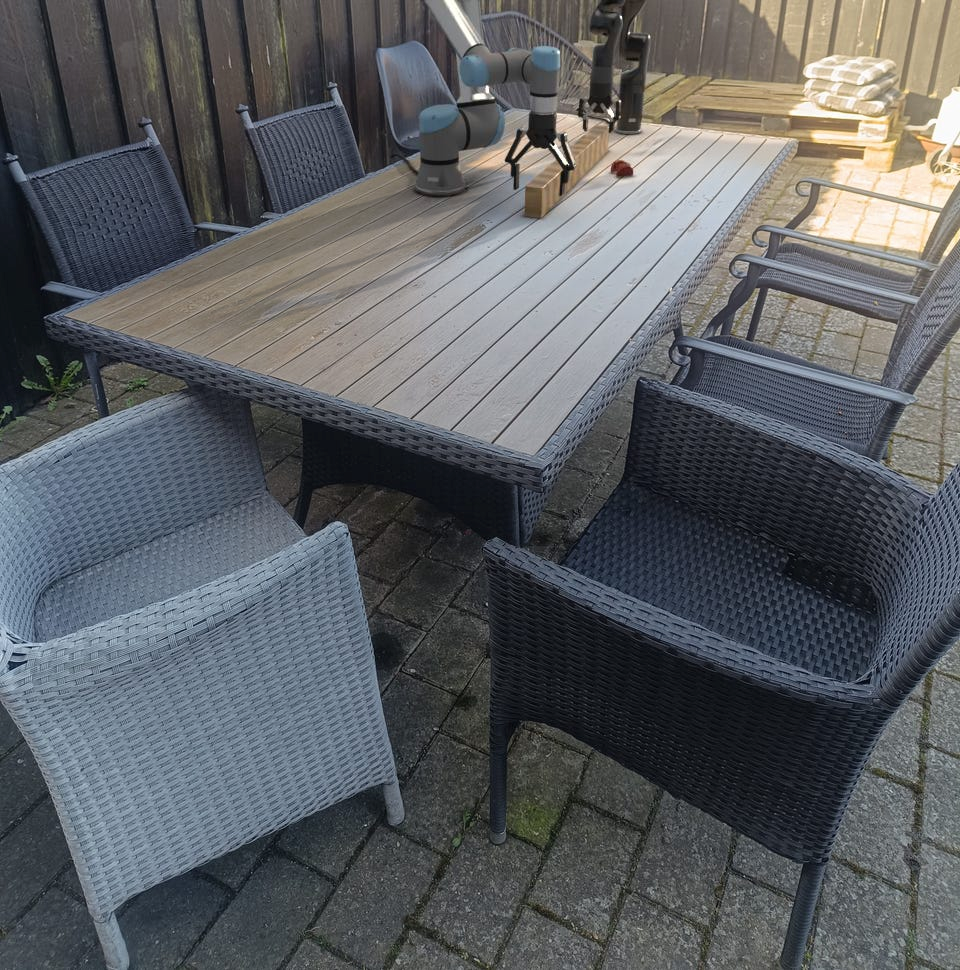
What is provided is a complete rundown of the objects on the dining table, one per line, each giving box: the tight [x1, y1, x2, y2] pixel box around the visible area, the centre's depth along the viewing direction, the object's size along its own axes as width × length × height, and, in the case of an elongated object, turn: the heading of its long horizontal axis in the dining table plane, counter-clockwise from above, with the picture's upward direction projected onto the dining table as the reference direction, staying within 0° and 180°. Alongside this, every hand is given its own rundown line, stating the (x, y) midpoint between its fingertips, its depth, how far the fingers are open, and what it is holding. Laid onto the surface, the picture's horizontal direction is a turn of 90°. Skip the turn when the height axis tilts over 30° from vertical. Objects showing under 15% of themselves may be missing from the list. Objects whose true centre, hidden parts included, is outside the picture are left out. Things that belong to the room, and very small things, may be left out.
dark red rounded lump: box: [610, 159, 634, 178], centre depth 271 cm, size 6×4×8 cm
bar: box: [523, 124, 610, 219], centre depth 265 cm, size 78×5×8 cm, turn 159°
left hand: (538, 191), depth 239 cm, fingers open, 13 cm apart
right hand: (597, 131), depth 288 cm, fingers open, 8 cm apart
